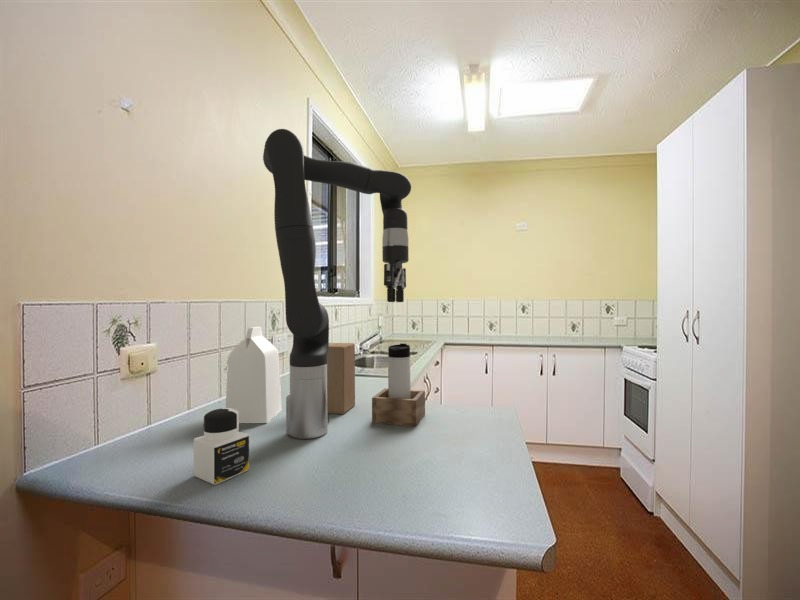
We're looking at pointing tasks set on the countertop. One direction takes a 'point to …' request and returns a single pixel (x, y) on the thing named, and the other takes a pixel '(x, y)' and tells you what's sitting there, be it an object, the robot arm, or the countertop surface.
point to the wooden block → (340, 377)
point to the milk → (254, 379)
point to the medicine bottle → (221, 447)
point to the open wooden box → (398, 408)
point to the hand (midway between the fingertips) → (395, 302)
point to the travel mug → (399, 371)
